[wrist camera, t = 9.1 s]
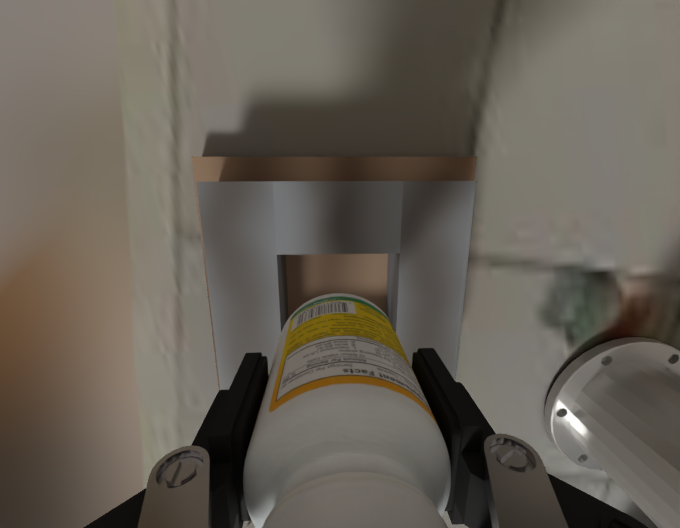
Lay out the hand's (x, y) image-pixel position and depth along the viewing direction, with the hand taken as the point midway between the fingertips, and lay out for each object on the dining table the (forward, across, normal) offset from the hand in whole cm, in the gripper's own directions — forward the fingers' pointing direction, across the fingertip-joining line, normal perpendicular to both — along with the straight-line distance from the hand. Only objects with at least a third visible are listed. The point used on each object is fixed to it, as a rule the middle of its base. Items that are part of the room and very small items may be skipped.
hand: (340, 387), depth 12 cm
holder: (+12, 0, 0) cm, 12 cm away
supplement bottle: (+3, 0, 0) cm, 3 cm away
